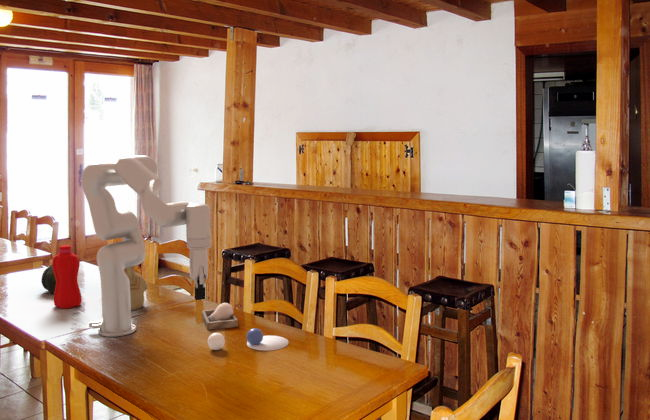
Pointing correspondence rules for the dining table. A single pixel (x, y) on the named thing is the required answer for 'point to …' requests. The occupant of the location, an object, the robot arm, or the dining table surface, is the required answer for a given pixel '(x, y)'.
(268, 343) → the white round disc
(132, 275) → the ceramic vessel
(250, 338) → the object ball
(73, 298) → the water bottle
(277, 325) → the dining table surface
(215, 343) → the cue ball
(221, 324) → the brown wooden tray
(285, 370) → the dining table surface
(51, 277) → the squash
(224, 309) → the light bulb
